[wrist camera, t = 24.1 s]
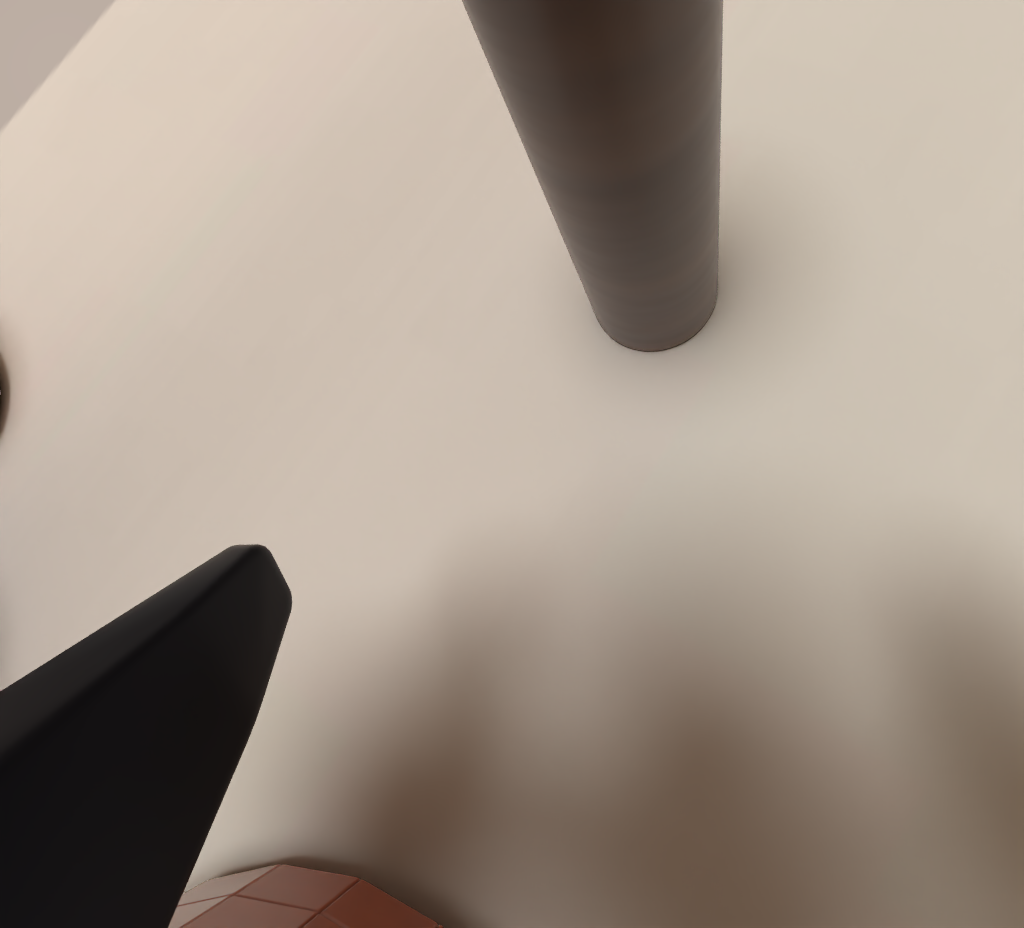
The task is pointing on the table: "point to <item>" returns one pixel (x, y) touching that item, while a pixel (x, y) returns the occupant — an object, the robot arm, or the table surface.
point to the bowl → (293, 902)
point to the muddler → (621, 147)
